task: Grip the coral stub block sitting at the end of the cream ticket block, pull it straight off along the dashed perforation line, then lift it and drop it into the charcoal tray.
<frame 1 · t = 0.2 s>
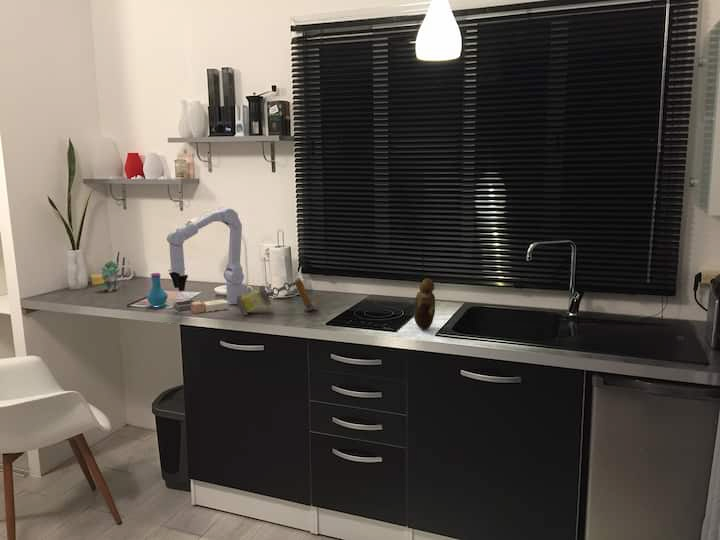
hand: (179, 289, 274), 10 cm above the worktop, tool pointing down, fingers open, 7 cm apart
sculpture: (424, 329, 243), on the worktop
ticket block: (214, 308, 279), on the worktop
perfume bottle: (158, 306, 286), on the worktop
stub: (197, 311, 275), on the worktop
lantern: (277, 312, 272), on the worktop
tray: (186, 307, 282), on the worktop
toy: (112, 290, 320), on the worktop
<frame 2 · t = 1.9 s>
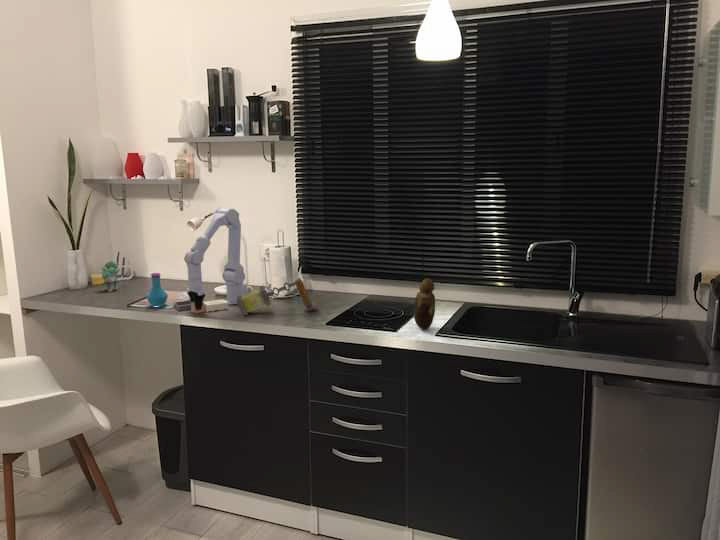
hand: (196, 308, 274), 1 cm above the worktop, tool pointing down, fingers closed on stub, 5 cm apart
stub: (197, 311, 275), on the worktop, touching gripper
everything else where it was.
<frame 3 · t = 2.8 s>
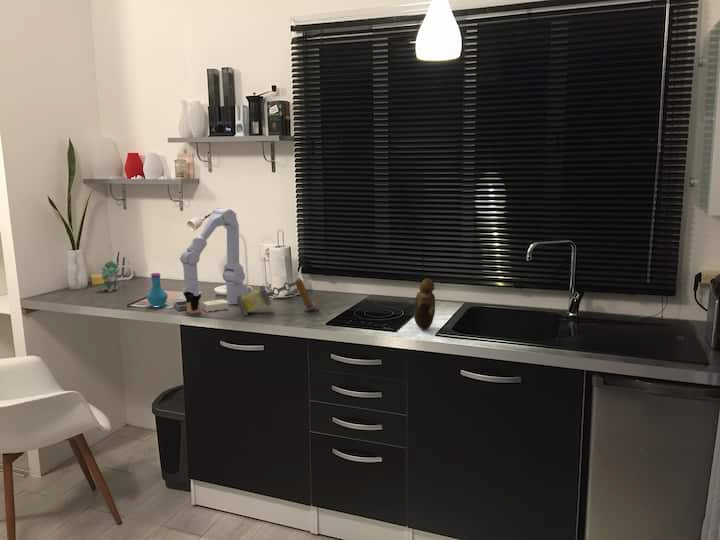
hand: (192, 308, 273), 1 cm above the worktop, tool pointing down, fingers closed on stub, 5 cm apart
stub: (194, 311, 274), on the worktop, touching gripper
everything else where it was.
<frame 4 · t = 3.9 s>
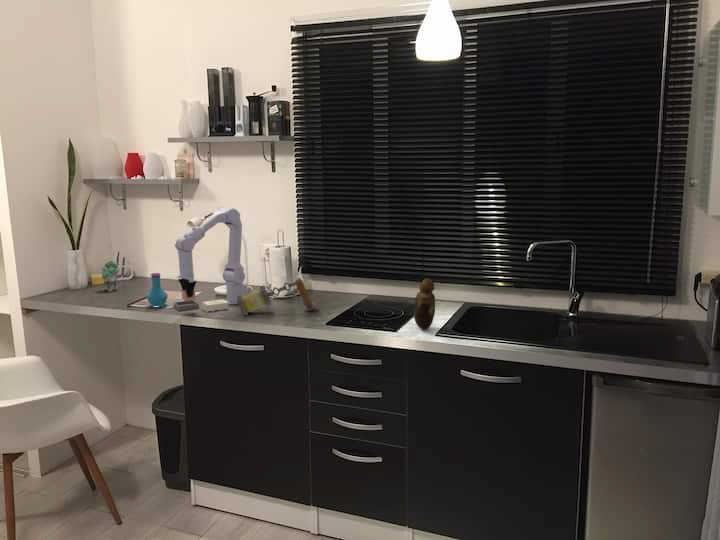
hand: (188, 295, 271), 8 cm above the worktop, tool pointing down, fingers closed on stub, 5 cm apart
stub: (189, 299, 272), point 6 cm above the worktop, touching gripper
everything else where it was.
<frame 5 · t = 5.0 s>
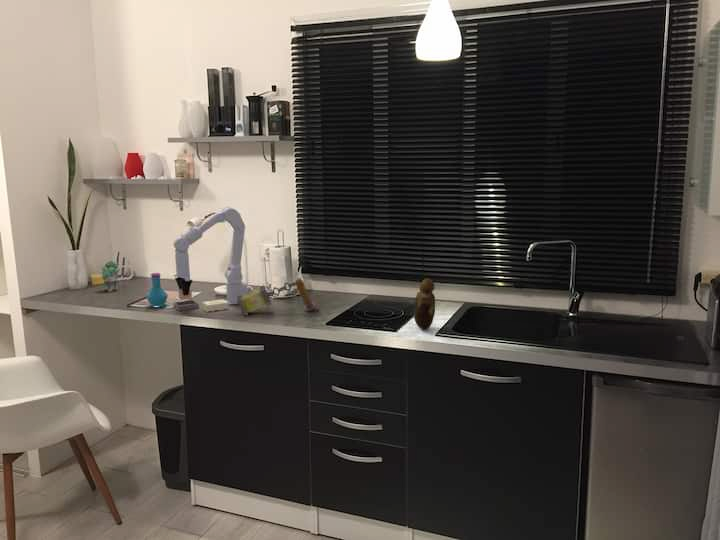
hand: (184, 294, 281), 6 cm above the worktop, tool pointing down, fingers closed on stub, 5 cm apart
stub: (185, 298, 281), point 4 cm above the worktop, touching gripper
everything else where it was.
when the fingers open (4 cm above the worktop, at t = 5.9 s): stub drops 1 cm, resting on tray.
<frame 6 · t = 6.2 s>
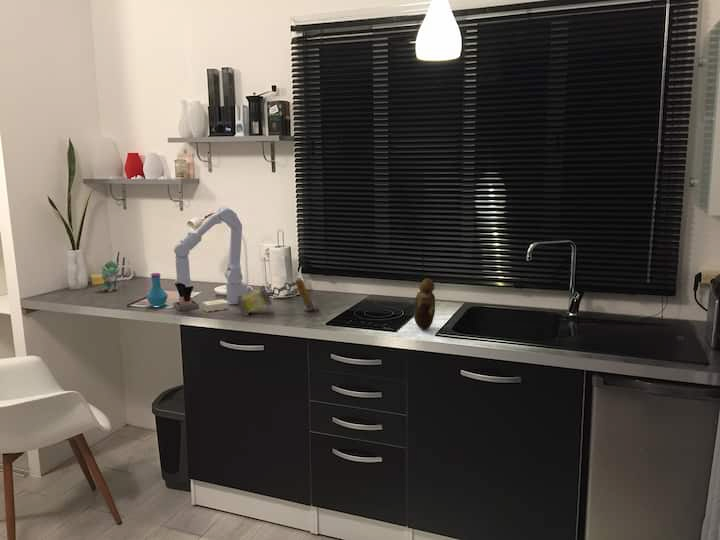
hand: (184, 299, 281), 4 cm above the worktop, tool pointing down, fingers open, 7 cm apart
stub: (185, 306, 282), point 1 cm above the worktop, touching tray
everything else where it was.
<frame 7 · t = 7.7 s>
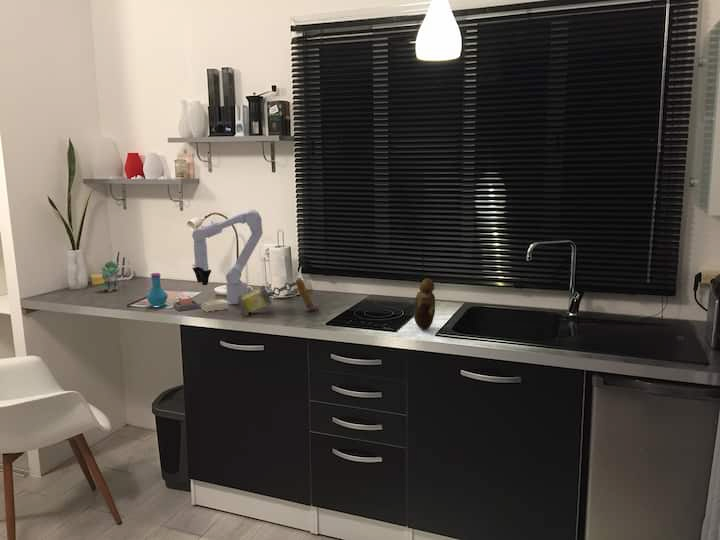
hand: (202, 283, 287), 9 cm above the worktop, tool pointing down, fingers open, 7 cm apart
nothing on the worktop moved.
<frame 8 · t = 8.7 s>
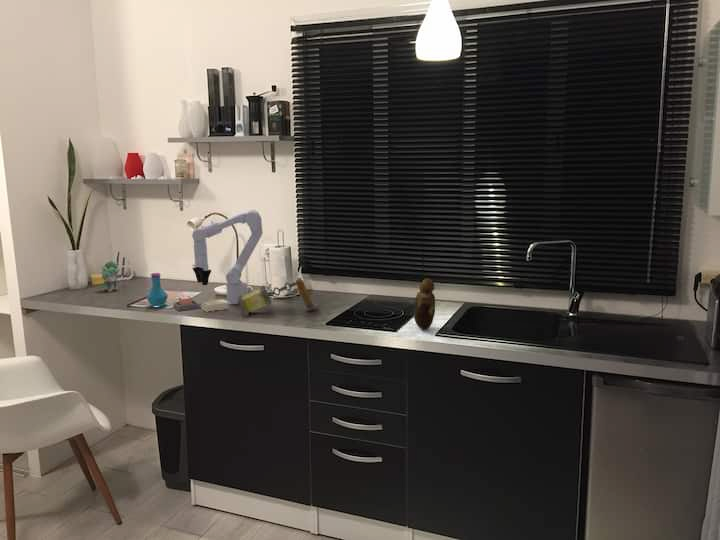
hand: (202, 283, 287), 9 cm above the worktop, tool pointing down, fingers open, 7 cm apart
nothing on the worktop moved.
at the end: stub inside the target area on the tray (0.1 cm from its centre), point 0.6 cm above the tray's base; stub moved 10.3 cm from its start; the gripper is holding nothing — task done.
